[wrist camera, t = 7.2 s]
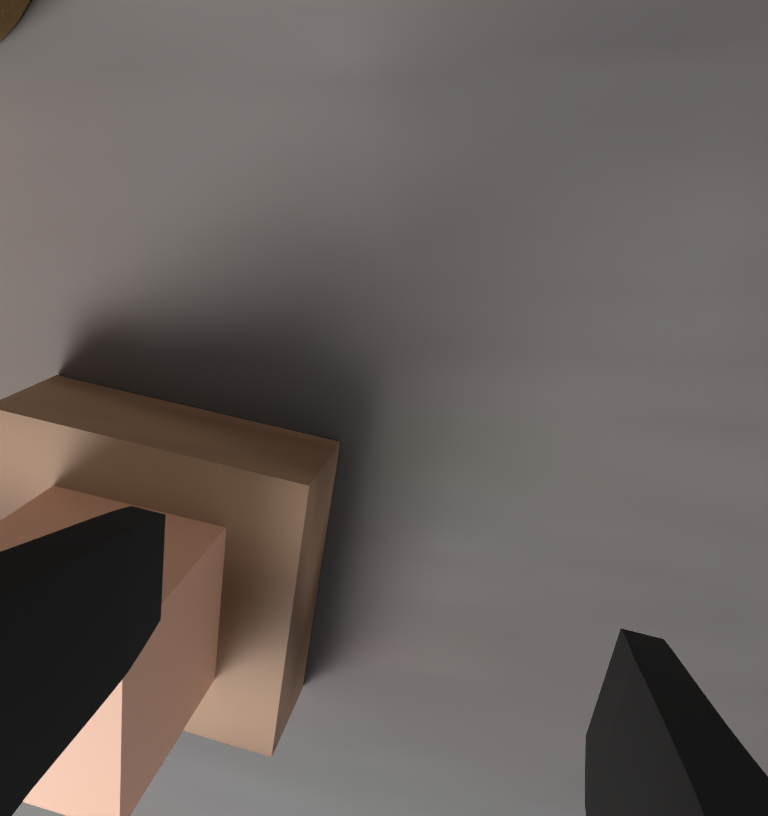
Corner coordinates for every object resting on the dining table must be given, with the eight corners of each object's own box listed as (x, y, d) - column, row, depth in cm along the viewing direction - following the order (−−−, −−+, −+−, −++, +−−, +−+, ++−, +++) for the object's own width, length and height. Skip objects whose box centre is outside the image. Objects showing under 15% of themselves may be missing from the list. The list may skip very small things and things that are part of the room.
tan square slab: (302, 687, 24) (271, 756, 21) (57, 616, 25) (-3, 674, 22) (340, 441, 20) (309, 486, 18) (56, 375, 22) (-14, 406, 19)
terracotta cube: (214, 679, 20) (119, 831, 16) (56, 635, 21) (-80, 769, 16) (226, 527, 19) (123, 649, 14) (53, 485, 19) (-101, 588, 15)
